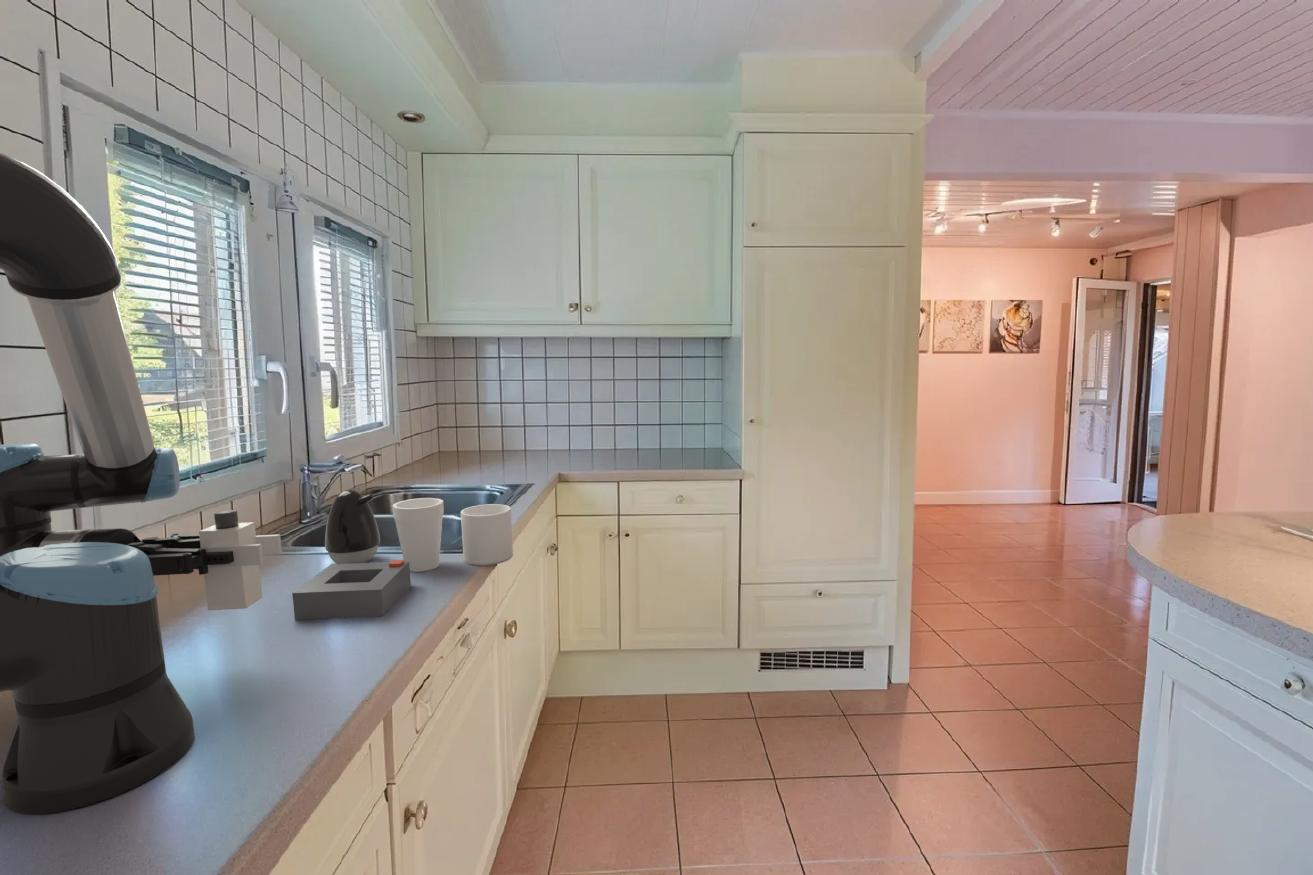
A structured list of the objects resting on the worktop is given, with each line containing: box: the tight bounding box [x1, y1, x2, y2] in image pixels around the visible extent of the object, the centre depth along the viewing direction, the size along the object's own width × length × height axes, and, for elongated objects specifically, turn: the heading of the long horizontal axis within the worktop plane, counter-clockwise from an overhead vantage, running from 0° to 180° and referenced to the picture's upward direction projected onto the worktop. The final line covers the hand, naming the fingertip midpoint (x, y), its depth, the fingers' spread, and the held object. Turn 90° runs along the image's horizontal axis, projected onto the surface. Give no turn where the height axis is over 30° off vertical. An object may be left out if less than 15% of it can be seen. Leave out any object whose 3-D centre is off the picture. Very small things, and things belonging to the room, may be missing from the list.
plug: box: [198, 509, 263, 611], centre depth 87 cm, size 4×5×13 cm
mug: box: [460, 503, 514, 567], centre depth 133 cm, size 13×10×10 cm
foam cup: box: [392, 497, 445, 573], centre depth 127 cm, size 10×9×13 cm
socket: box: [291, 559, 412, 621], centre depth 110 cm, size 14×14×5 cm
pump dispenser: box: [324, 489, 381, 564], centre depth 130 cm, size 10×10×15 cm
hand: (270, 549), depth 87 cm, fingers closed on plug, 4 cm apart
